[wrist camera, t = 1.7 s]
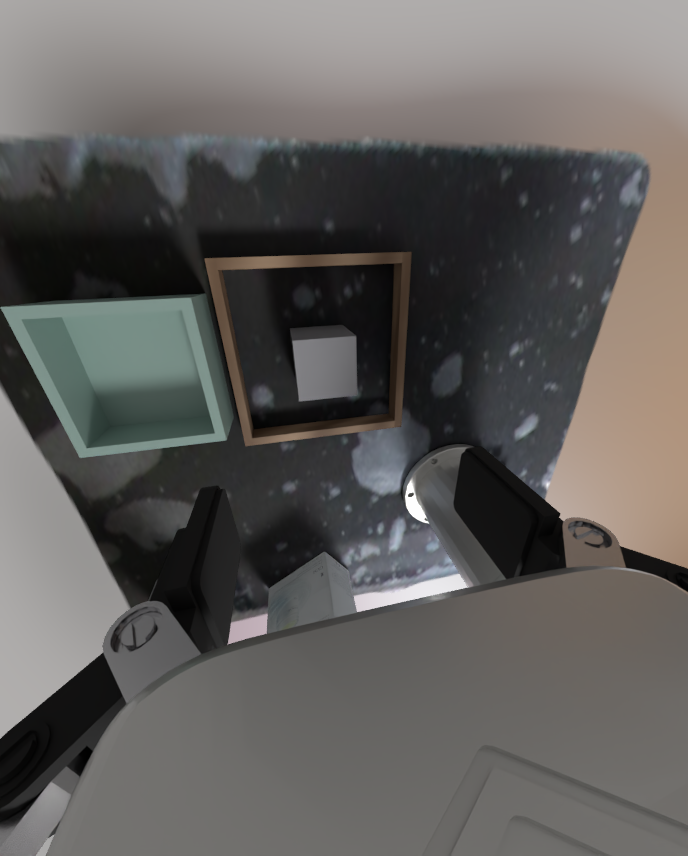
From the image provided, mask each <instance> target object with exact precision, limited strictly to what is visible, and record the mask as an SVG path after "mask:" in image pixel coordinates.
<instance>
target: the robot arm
mask: <svg viewBox="0 0 688 856" xmlns="http://www.w3.org/2000/svg"><path fill="white" fill-rule="evenodd" d="M402 494H403V501H404V504H405V506H406V508H407V509H408V511H409V513H410V514H411V515H412V516H413V517H414V518H416V519H417V520H419V521H421V522H424V523H429V524H430V526H431V527H432V529H433V531H434V532H435V534H436V535H437V537H438V539H439V540H440V542H441V544H442V545H443V547H444V549H445V550H446V552H447V554H448V555H449V557H450V559H451V560H452V562H453V564H454V565H455V567H456V569H457V570H458V572H459V574H460V575H461V577H462V578H463V580H464V582H465V583H466V585H467V587H468V588H464V589H460V590H455V591H451V592H447V593H442V594H437V595H433V596H428V597H424V598H419V599H415V600H410V601H406V602H401V603H397V604H393V605H388V606H384V607H379V608H375V609H371V610H366V611H362V612H357V613H353V614H349V615H344V616H340V617H336V618H331V619H327V620H323V621H318V622H314V623H310V624H305V625H301V626H297V627H293V628H289V629H285V630H281V631H276V632H272V633H268V634H264V635H260V636H256V637H252V638H249V639H245V640H242V641H238V642H235V643H232V644H228V645H227V643H228V638H229V632H230V624H231V617H232V610H233V603H234V595H235V588H236V581H237V574H238V567H239V559H240V552H241V543H240V539H239V535H238V532H237V528H236V525H235V521H234V518H233V515H232V511H231V508H230V504H229V501H228V497H227V494H226V491H225V489H220V488H219V486H212V487H205V488H201V489H200V491H199V494H198V497H197V500H196V502H195V505H194V508H193V511H192V513H191V516H190V519H189V521H188V524H187V527H186V528H182V529H179V530H178V531H177V533H176V535H175V537H174V540H173V543H172V545H171V548H170V550H169V553H168V555H167V558H166V560H165V563H164V565H163V568H162V570H161V573H160V575H159V578H158V580H157V583H156V585H155V588H154V590H153V593H152V595H151V598H150V600H149V601H148V602H144V603H141V604H139V605H136V606H134V607H133V608H131V609H129V610H128V611H126V612H125V613H124V614H123V615H122V616H120V617H119V618H118V619H117V620H116V621H115V623H114V624H113V625H112V626H111V627H110V629H109V631H108V632H107V634H106V636H105V639H104V643H103V653H102V654H101V655H100V656H98V657H97V658H96V659H95V660H94V661H92V662H91V663H90V664H89V665H88V666H86V667H85V668H84V669H83V670H82V671H80V672H79V673H78V674H77V675H76V676H74V677H73V678H72V679H71V680H70V681H68V682H67V683H66V684H65V685H64V686H62V687H61V688H60V689H59V690H58V691H56V692H55V693H54V694H53V695H52V696H51V697H49V698H48V699H47V700H46V701H45V702H43V703H42V704H41V705H40V706H38V707H37V708H36V709H35V710H34V711H32V712H31V713H30V714H29V715H28V716H26V718H24V719H23V720H22V721H20V722H19V723H18V724H17V725H15V726H14V727H13V728H12V729H11V730H9V731H8V732H7V733H6V734H5V735H4V736H3V737H2V738H1V739H0V856H35V855H36V854H37V852H38V851H39V850H40V848H41V847H42V845H43V844H44V842H45V841H46V840H47V838H49V837H51V836H52V835H54V834H55V835H54V837H53V840H52V842H51V845H50V847H49V849H48V852H47V854H46V856H688V569H687V568H684V567H681V566H678V565H675V564H672V563H669V562H666V561H663V560H660V559H657V558H654V557H651V556H648V555H645V554H642V553H639V552H636V551H633V550H630V549H627V548H624V547H621V546H620V545H619V542H618V540H617V538H616V537H615V535H614V534H613V533H611V531H609V530H608V529H607V528H605V527H604V526H602V525H600V524H598V523H596V522H594V521H591V520H588V519H583V518H569V519H566V520H565V521H562V520H561V519H560V518H559V516H560V513H559V512H558V511H557V510H556V509H554V508H553V507H552V506H551V505H550V504H549V503H547V502H546V501H545V500H544V499H543V498H542V497H540V496H539V495H538V494H537V493H536V492H534V491H533V490H532V489H531V488H530V487H529V486H527V485H526V484H525V483H524V482H523V481H522V480H520V479H519V478H518V477H517V476H516V475H514V474H513V473H512V472H511V471H510V470H509V469H507V468H506V467H505V466H504V465H503V464H502V463H500V462H499V461H498V460H497V459H496V458H494V457H493V456H492V455H491V454H490V453H489V452H487V451H486V450H485V449H484V448H482V447H474V446H470V445H466V444H453V445H447V446H444V447H441V448H438V449H436V450H434V451H432V452H430V453H429V454H427V455H426V456H424V457H423V458H422V459H421V460H420V461H419V462H417V463H416V464H415V466H414V467H413V468H412V469H411V471H410V472H409V474H408V476H407V477H406V480H405V483H404V485H403V493H402Z"/></svg>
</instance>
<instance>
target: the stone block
mask: <svg viewBox="0 0 688 856" xmlns="http://www.w3.org/2000/svg"><path fill="white" fill-rule="evenodd" d="M290 334H291V343H292V352H293V360H294V369H295V378H296V384H297V391H298V397H299V401H308V400H317V399H327V398H336V397H346V396H355V395H357V355H356V335H354V334H353V333H352V332H351V331H349V330H348V329H347V328H346V327H344V326H343V325H331V326H317V327H302V328H290Z"/></svg>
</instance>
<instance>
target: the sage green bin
mask: <svg viewBox="0 0 688 856" xmlns="http://www.w3.org/2000/svg"><path fill="white" fill-rule="evenodd" d="M0 308H1V309H2V311H3V313H4V315H5V317H6V319H7V321H8V323H9V325H10V326H11V328H12V330H13V332H14V334H15V336H16V338H17V340H18V342H19V343H20V345H21V347H22V349H23V351H24V353H25V355H26V357H27V359H28V360H29V362H30V364H31V366H32V368H33V370H34V372H35V374H36V376H37V377H38V379H39V381H40V383H41V385H42V387H43V389H44V391H45V393H46V394H47V396H48V398H49V400H50V402H51V404H52V406H53V408H54V410H55V411H56V413H57V415H58V417H59V419H60V421H61V423H62V425H63V427H64V429H65V430H66V432H67V434H68V436H69V438H70V440H71V442H72V444H73V446H74V447H75V449H76V451H77V453H78V455H79V457H80V458H84V457H92V456H101V455H109V454H117V453H125V452H134V451H142V450H150V449H158V448H167V447H175V446H183V445H191V444H200V443H208V442H216V441H224V440H227V437H228V434H229V431H230V427H231V424H232V421H233V418H234V415H233V411H232V406H231V402H230V398H229V393H228V389H227V385H226V380H225V376H224V371H223V367H222V363H221V358H220V354H219V349H218V345H217V341H216V336H215V332H214V328H213V323H212V319H211V314H210V310H209V306H208V301H207V297H206V294H186V295H165V296H145V297H124V298H104V299H83V300H62V301H48V302H39V303H31V304H23V305H14V306H6V307H0Z"/></svg>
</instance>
